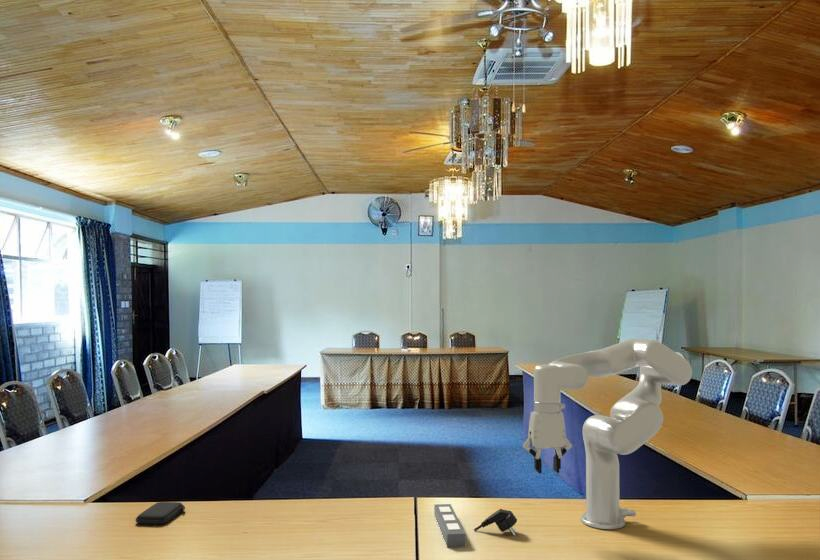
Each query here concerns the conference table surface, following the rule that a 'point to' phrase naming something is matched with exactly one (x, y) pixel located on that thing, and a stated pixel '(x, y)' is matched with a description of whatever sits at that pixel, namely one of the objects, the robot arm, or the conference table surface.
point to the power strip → (449, 525)
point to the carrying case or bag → (160, 513)
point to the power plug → (501, 521)
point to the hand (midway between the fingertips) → (547, 471)
